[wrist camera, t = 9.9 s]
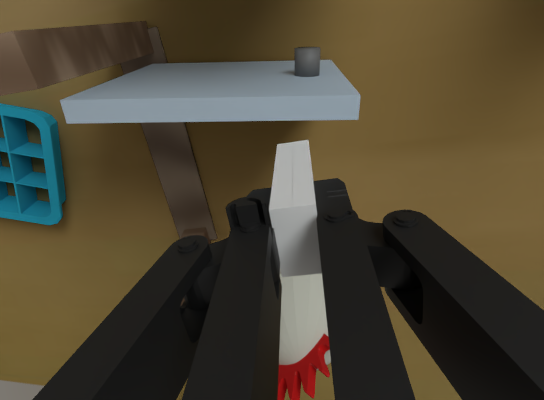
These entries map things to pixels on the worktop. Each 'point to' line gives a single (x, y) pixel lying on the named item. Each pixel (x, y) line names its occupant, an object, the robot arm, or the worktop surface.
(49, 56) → the door frame
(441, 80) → the worktop surface
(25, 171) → the ice cube tray
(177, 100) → the door
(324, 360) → the kitchen timer
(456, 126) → the worktop surface
